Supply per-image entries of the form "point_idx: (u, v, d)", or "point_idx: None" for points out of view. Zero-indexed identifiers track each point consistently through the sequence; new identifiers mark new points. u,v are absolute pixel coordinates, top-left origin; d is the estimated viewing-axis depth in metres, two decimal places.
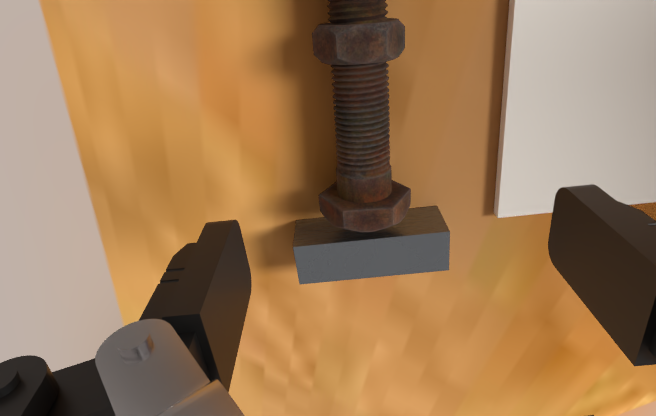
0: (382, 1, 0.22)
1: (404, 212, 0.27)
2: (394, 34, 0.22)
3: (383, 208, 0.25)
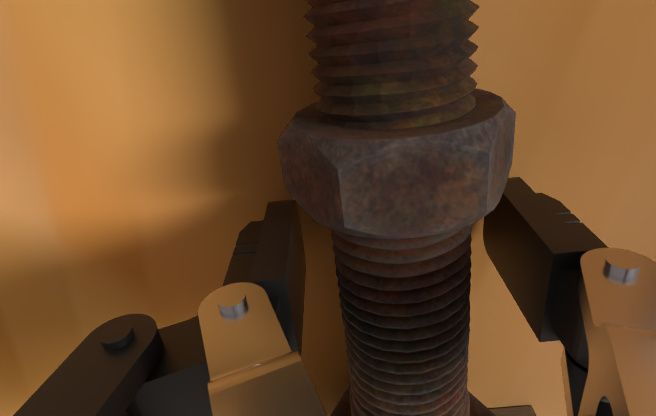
0: (466, 58, 0.08)
1: None
2: (501, 147, 0.08)
3: None
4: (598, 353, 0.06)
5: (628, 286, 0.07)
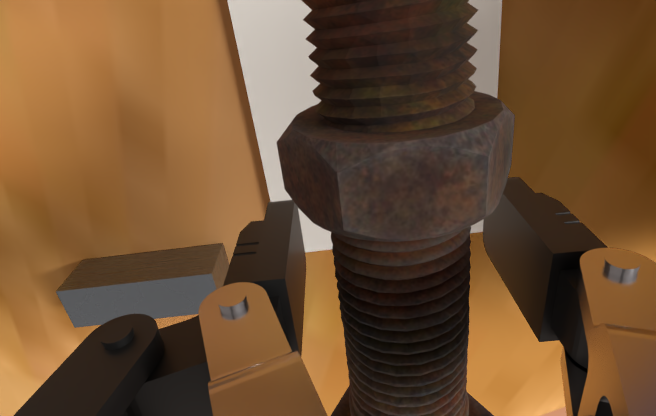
0: (465, 61, 0.08)
1: None
2: (500, 150, 0.08)
3: None
4: (598, 353, 0.06)
5: (628, 286, 0.07)
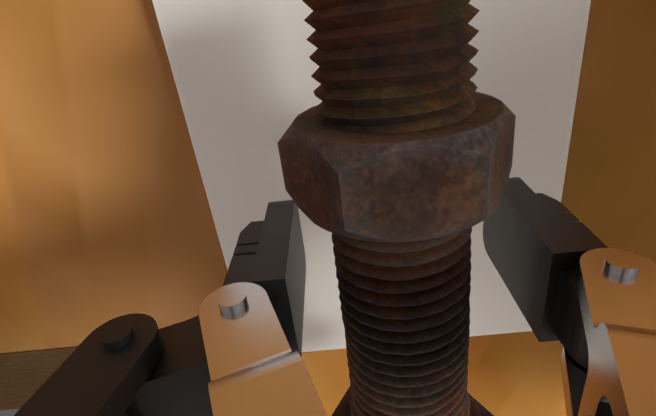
0: (466, 62, 0.08)
1: None
2: (501, 151, 0.08)
3: None
4: (598, 353, 0.06)
5: (628, 286, 0.07)
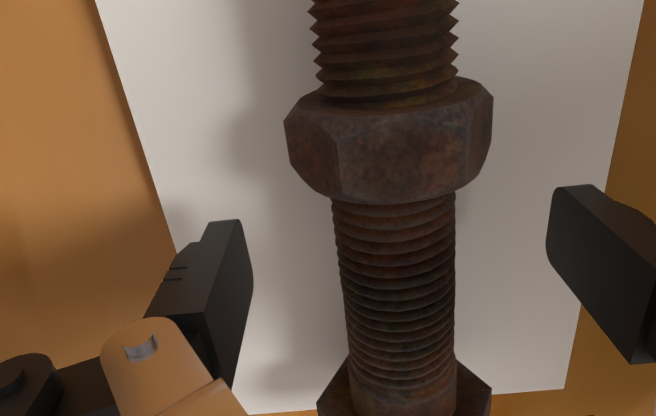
0: (448, 48, 0.09)
1: None
2: (479, 125, 0.09)
3: None
4: None
5: None
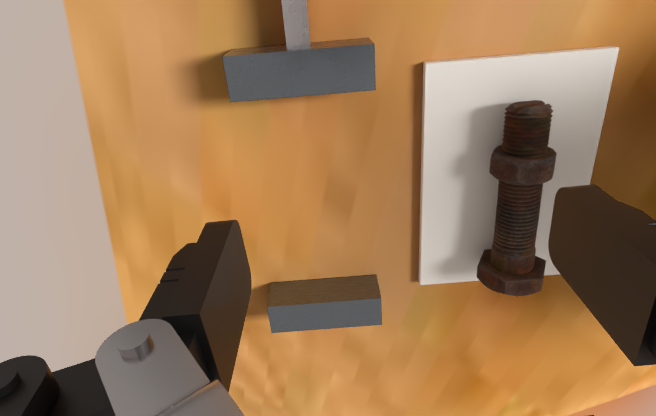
0: None
1: None
2: (554, 162, 0.32)
3: (535, 279, 0.35)
4: None
5: None
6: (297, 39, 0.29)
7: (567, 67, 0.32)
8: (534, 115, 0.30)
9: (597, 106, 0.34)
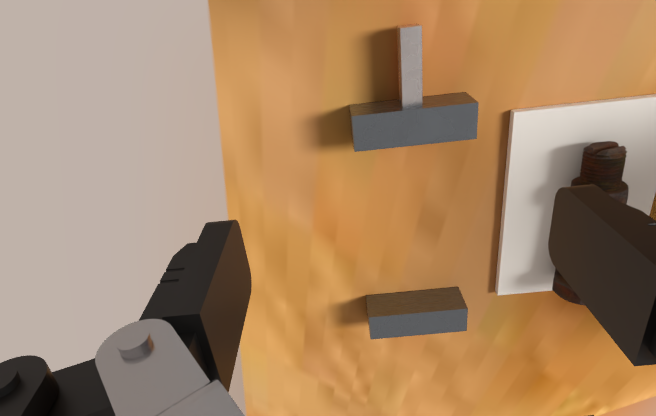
0: None
1: None
2: None
3: None
4: None
5: None
6: (411, 99, 0.35)
7: (636, 111, 0.38)
8: (612, 156, 0.36)
9: None
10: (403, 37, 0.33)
